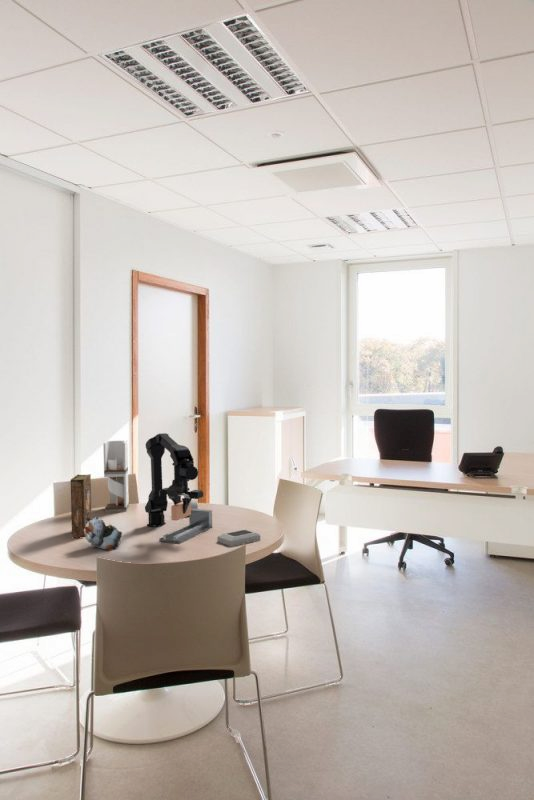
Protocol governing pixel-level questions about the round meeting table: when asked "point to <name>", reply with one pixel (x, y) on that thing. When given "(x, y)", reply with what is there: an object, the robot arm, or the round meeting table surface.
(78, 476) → the book
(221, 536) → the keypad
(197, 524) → the track base
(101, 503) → the round meeting table surface
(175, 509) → the tan flat rectangular block
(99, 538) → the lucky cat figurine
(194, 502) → the ceramic mug
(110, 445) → the grey shelving unit
